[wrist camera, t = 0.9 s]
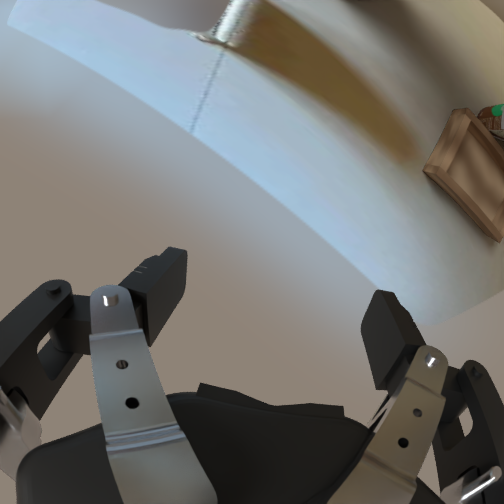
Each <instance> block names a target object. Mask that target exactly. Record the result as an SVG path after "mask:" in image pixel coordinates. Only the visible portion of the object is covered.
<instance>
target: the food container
mask: <svg viewBox="0 0 504 504" xmlns="http://www.w3.org/2000/svg"><path fill="white" fill-rule="evenodd" d="M477 118H478V119H479V120H480V122H481V123H482V124H483V125H484V126H485V127H486V129H487V130H488V131H489V132H490V133H491V135H492V136H493V137H495V138H497V139H500V140H502V141H504V104H500V105H495V106H491V107H486V108H484V109H482V110H481V111H480V113H479V114H478V116H477Z"/></svg>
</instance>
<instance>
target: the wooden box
mask: <svg viewBox="0 0 504 504" xmlns="http://www.w3.org/2000/svg"><path fill="white" fill-rule="evenodd" d="M422 171H423V172H425V173H426V174H427V175H428V176H429V177H430V178H431V179H433V180H434V181H435V182H436V183H437V184H438V185H439V186H440V187H441V188H442V189H443V190H444V191H445V192H446V193H448V194H449V195H450V196H451V197H452V198H453V199H454V200H455V201H456V202H457V203H458V204H459V205H460V206H461V207H462V209H463V210H464V211H465V212H466V213H467V214H468V215H469V216H470V217H471V218H472V219H473V220H474V221H475V222H476V224H477V225H478V226H479V227H480V228H481V229H482V230H483V232H484V233H485V234H486V235H487V236H489V237H491V238H492V239H494V240H495V241H497V242H499V243H500V242H501V240H502V238H503V236H504V150H503V149H502V147H501V146H500V145H499V143H498V142H497V141H496V140H495V138H494V137H493V136H492V135H491V133H490V132H489V131H488V130H487V129H486V127H485V126H484V125H483V124H482V123H481V122H480V120H479V119H478V118H477V117H476V116H475V115H474V114H473V113H472V112H471V111H470V110H469V108H464V109H456V110H453V112H452V114H451V116H450V118H449V120H448V122H447V124H446V126H445V129H444V131H443V133H442V135H441V137H440V139H439V141H438V143H437V144H436V146H435V148H434V150H433V152H432V154H431V156H430V158H429V160H428V161H427V163H426V165H425V167H424V169H423V170H422Z"/></svg>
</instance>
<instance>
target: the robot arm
mask: <svg viewBox="0 0 504 504" xmlns="http://www.w3.org/2000/svg"><path fill="white" fill-rule="evenodd" d="M186 272H187V251H186V250H183V249H178V248H173V247H168V248H167V249H166V250H165V251H164V252H163V253H162V254H161V255H160V256H157V255H155V256H152V257H150V258H147V259H145V260H144V261H143V262H142V263H141V264H140V265H139V266H138V267H137V268H135V269H134V271H133V272H131V273H130V274H129V275H128V276H127V277H126V278H125V279H124V280H123V281H122V282H121V283H120V284H118V285H106V286H102V287H99V288H97V289H96V290H94V291H93V292H92V294H91V296H82V295H73V294H72V288H71V285H70V284H69V283H68V282H67V281H64V280H51V281H47V282H45V283H43V284H42V285H40V286H39V287H38V288H37V289H36V290H35V291H33V292H32V293H31V294H30V295H29V296H28V297H27V298H26V299H24V300H23V301H22V302H21V303H20V304H19V305H18V306H16V307H15V309H13V310H12V311H11V312H10V313H9V314H8V315H7V316H6V317H5V318H4V319H3V320H2V321H1V322H0V469H1V470H2V471H3V472H4V473H6V474H7V475H8V476H9V477H11V478H12V479H13V480H14V481H15V482H16V494H17V504H504V405H503V403H502V401H501V398H500V396H499V394H498V392H497V390H496V388H495V386H494V383H493V381H492V380H491V377H490V376H489V374H488V372H487V370H486V369H485V368H484V366H482V365H481V364H480V363H478V362H476V361H474V360H468V361H466V362H465V363H464V365H463V366H462V368H461V369H457V368H454V367H451V366H448V361H447V358H446V357H445V355H444V354H443V353H442V352H441V351H440V350H438V349H436V348H434V347H432V346H428V345H426V343H425V341H424V339H423V337H422V335H421V333H420V332H419V330H418V328H417V326H416V324H415V322H413V319H412V317H411V315H410V313H409V312H408V311H407V310H406V309H405V308H404V307H403V306H402V305H401V304H400V303H399V301H398V299H397V297H396V295H395V294H394V293H393V292H389V291H383V290H376V291H375V293H374V295H373V297H372V300H371V302H370V304H369V307H368V309H367V311H366V313H365V315H364V318H363V320H362V324H361V335H362V338H363V341H364V345H365V348H366V352H367V356H368V360H369V363H370V367H371V371H372V375H373V379H374V383H375V388H376V390H388V394H387V395H386V397H385V398H384V399H383V401H382V402H381V404H380V406H379V407H378V409H377V410H376V412H375V413H374V415H373V417H372V418H371V419H370V421H369V422H368V424H367V425H366V426H364V425H363V424H361V423H359V422H357V421H355V420H353V419H350V418H348V417H345V416H344V408H343V406H335V405H324V404H314V403H306V404H296V405H282V406H273V405H269V404H267V403H264V402H261V401H259V400H256V399H254V398H252V397H249V396H247V395H244V394H242V393H240V392H237V391H234V390H229V389H225V388H220V387H216V386H212V385H208V384H204V383H200V385H199V388H198V390H197V392H180V393H173V394H169V395H165V393H164V390H163V388H162V385H161V383H160V380H159V377H158V374H157V372H156V369H155V366H154V363H153V360H152V358H151V354H150V352H149V349H148V346H149V347H151V346H152V344H153V342H154V341H155V339H156V338H157V336H158V334H159V333H160V331H161V330H162V328H163V326H164V325H165V323H166V322H167V320H168V319H169V317H170V315H171V314H172V312H173V311H174V309H175V308H176V306H177V304H178V303H179V301H180V300H181V298H182V296H183V294H184V291H185V285H186ZM48 332H49V335H50V337H51V338H50V340H49V341H48V342H47V343H46V344H45V346H44V347H43V348H42V349H41V350H40V351H39V353H38V354H37V347H38V344H39V342H40V341H41V340H42V339H43V337H44V336H45V335H46V334H47V333H48ZM83 354H85V355H91V361H92V369H93V377H94V384H95V389H96V396H97V402H98V407H99V412H100V417H101V421H102V423H100V424H97V425H95V426H92V427H90V428H87V429H85V430H82V431H79V432H77V433H74V434H71V435H69V436H66V437H63V438H60V439H57V440H54V441H51V442H48V443H45V444H42V445H41V439H40V437H41V433H42V429H41V424H40V420H41V418H42V416H43V414H44V413H45V411H46V410H47V408H48V407H49V405H50V403H51V402H52V400H53V399H54V397H55V395H56V394H57V393H58V391H59V389H60V388H61V386H62V385H63V383H64V382H65V380H66V379H67V377H68V376H69V375H70V373H71V372H72V370H73V369H74V367H75V366H76V364H77V363H78V362H79V360H80V358H81V357H82V356H83ZM467 407H468V408H469V411H470V414H471V417H472V420H473V427H472V430H471V431H470V433H469V434H468V435H467V436H466V437H465V436H464V433H463V430H462V426H461V423H460V420H459V416H460V415H461V413H462V412H463V411H464V410H465V409H466V408H467ZM431 443H432V445H433V450H434V455H435V461H436V466H437V472H438V478H439V486H440V497H438V496H437V495H436V494H435V493H434V492H433V491H432V490H431V489H430V488H429V487H428V486H427V485H426V484H425V483H424V482H423V481H421V480H420V478H418V477H417V475H418V473H419V471H420V469H421V467H422V464H423V462H424V460H425V458H426V455H427V453H428V450H429V448H430V446H431Z"/></svg>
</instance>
